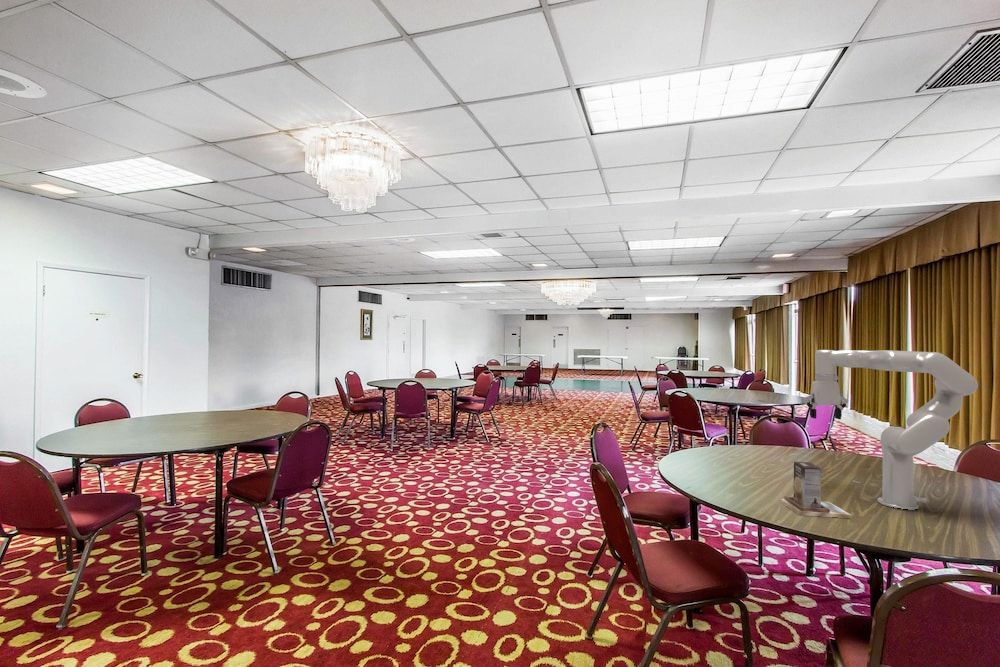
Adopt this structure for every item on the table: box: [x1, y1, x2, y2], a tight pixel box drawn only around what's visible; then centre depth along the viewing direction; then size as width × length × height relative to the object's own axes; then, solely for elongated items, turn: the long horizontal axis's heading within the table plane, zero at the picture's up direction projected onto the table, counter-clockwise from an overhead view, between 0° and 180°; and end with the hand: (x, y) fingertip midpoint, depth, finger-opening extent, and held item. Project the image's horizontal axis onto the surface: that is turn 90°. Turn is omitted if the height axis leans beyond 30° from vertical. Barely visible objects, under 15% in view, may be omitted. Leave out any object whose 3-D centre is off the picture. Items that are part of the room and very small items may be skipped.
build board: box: [780, 496, 852, 519], centre depth 177 cm, size 18×14×3 cm
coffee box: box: [793, 461, 822, 508], centre depth 178 cm, size 9×6×16 cm
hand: (825, 418), depth 195 cm, fingers open, 9 cm apart
